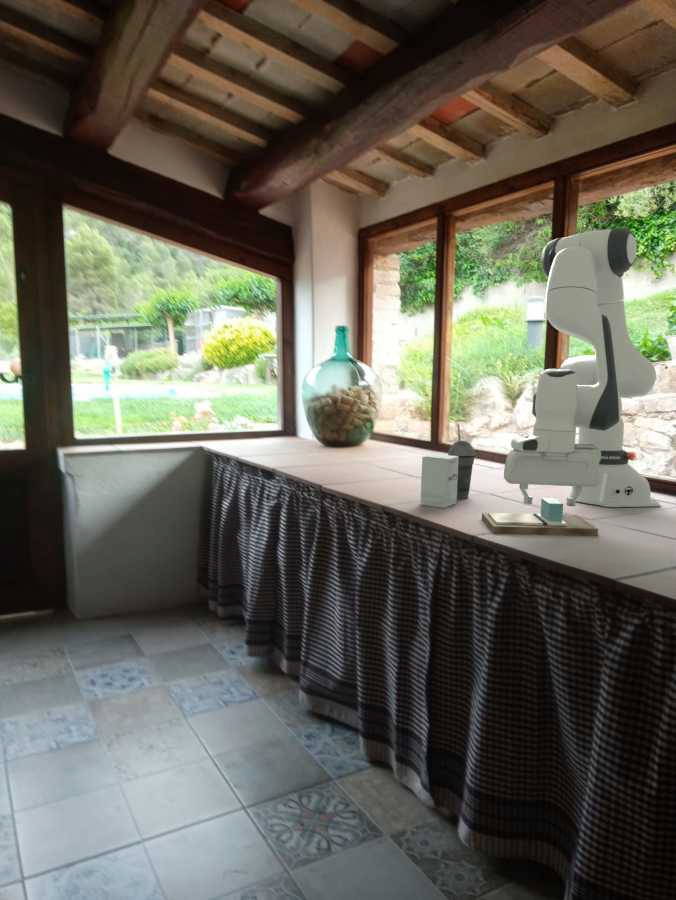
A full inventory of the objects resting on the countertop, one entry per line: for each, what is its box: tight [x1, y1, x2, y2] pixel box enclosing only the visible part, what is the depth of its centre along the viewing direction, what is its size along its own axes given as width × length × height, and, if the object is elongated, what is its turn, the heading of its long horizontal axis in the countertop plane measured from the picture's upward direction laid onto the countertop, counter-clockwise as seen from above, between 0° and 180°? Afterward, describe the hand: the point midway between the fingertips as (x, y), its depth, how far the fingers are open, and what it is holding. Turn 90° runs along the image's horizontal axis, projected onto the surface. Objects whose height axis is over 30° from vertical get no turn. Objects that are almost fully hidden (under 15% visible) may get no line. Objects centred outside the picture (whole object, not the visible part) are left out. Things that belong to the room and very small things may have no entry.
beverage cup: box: [447, 423, 476, 500], centre depth 175 cm, size 7×7×20 cm
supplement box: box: [419, 453, 459, 509], centre depth 165 cm, size 7×7×13 cm
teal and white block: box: [536, 497, 567, 526], centre depth 143 cm, size 4×9×4 cm, turn 178°
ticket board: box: [481, 512, 599, 537], centre depth 143 cm, size 22×13×2 cm, turn 88°
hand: (549, 505), depth 143 cm, fingers open, 8 cm apart
